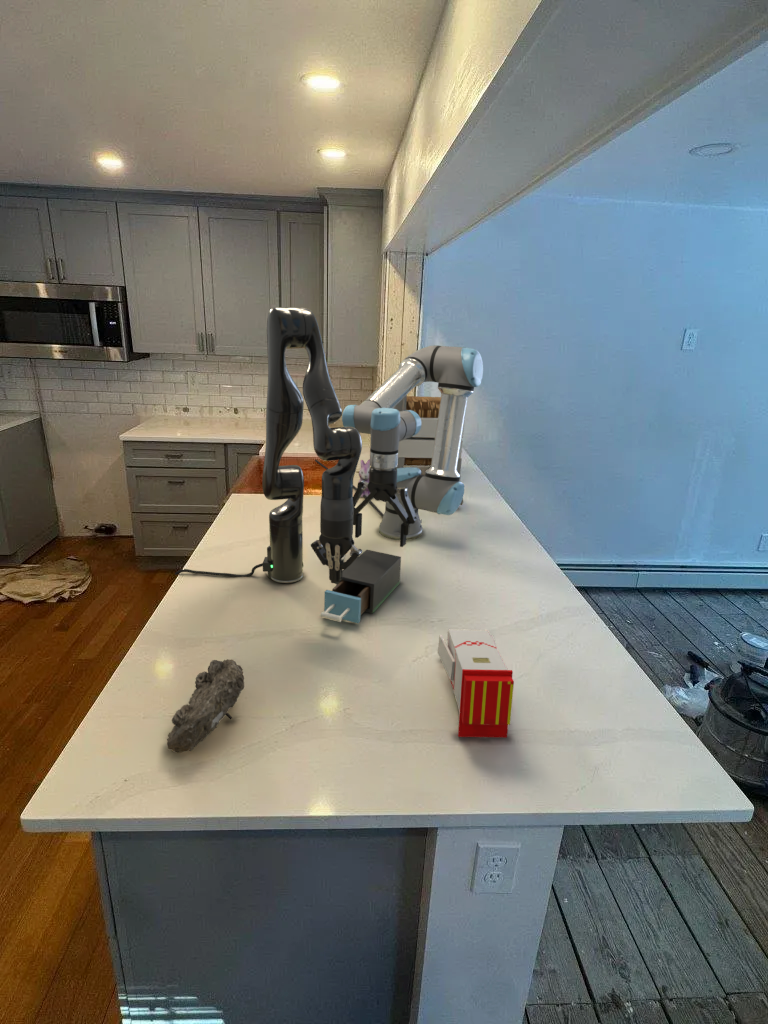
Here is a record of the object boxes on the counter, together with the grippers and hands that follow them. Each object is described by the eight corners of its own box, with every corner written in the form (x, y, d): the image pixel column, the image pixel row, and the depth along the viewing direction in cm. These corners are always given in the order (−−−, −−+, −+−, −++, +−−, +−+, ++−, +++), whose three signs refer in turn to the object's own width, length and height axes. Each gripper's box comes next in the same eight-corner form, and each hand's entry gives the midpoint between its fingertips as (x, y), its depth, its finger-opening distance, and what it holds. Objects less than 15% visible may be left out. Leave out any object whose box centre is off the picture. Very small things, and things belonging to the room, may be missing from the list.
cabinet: (372, 613, 147) (374, 584, 144) (335, 604, 151) (336, 575, 148) (399, 583, 164) (401, 556, 161) (365, 575, 168) (366, 549, 165)
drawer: (347, 635, 135) (348, 611, 133) (312, 625, 139) (312, 602, 136) (386, 592, 156) (387, 571, 154) (354, 585, 159) (355, 564, 157)
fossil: (192, 660, 117) (244, 628, 112) (224, 691, 120) (276, 661, 115) (142, 746, 98) (202, 712, 93) (182, 779, 101) (242, 748, 96)
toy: (488, 613, 130) (523, 677, 101) (484, 667, 133) (517, 744, 104) (435, 612, 130) (455, 676, 101) (432, 666, 133) (451, 743, 103)
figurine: (361, 499, 234) (363, 463, 229) (351, 491, 242) (352, 457, 237) (382, 496, 238) (383, 461, 233) (371, 489, 246) (372, 456, 241)
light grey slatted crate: (382, 463, 289) (386, 382, 275) (445, 464, 293) (451, 384, 279) (390, 482, 257) (394, 392, 243) (460, 483, 261) (468, 394, 247)
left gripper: (303, 514, 128) (303, 582, 134) (356, 524, 124) (354, 595, 130) (319, 504, 135) (319, 570, 141) (370, 514, 130) (367, 581, 136)
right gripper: (335, 463, 152) (334, 536, 160) (423, 477, 144) (417, 554, 151) (347, 457, 159) (346, 528, 166) (432, 470, 150) (426, 544, 157)
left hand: (335, 582), depth 135 cm, fingers closed
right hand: (380, 540), depth 159 cm, fingers open, 13 cm apart
